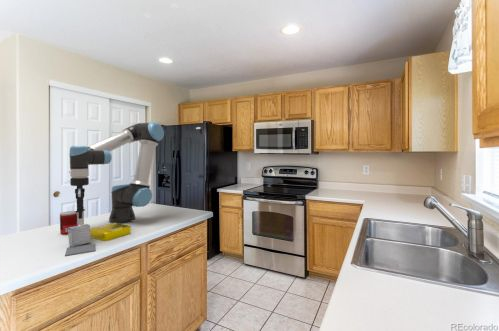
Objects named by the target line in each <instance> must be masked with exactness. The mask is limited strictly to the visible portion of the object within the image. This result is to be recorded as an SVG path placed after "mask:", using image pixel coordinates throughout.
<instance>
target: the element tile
mask: <svg viewBox="0 0 499 331" xmlns="http://www.w3.org/2000/svg"><path fill="white" fill-rule="evenodd" d="M131 233H132V232H131V226H130V225H128V224H124V223H107V224H103V225H99V226H94V227H92V228H91V227H90V234H91V239H96V240H100V241H103V242H107V241H111V240H115V239H117V238H122V237H124V236H127V235H131Z"/></svg>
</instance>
